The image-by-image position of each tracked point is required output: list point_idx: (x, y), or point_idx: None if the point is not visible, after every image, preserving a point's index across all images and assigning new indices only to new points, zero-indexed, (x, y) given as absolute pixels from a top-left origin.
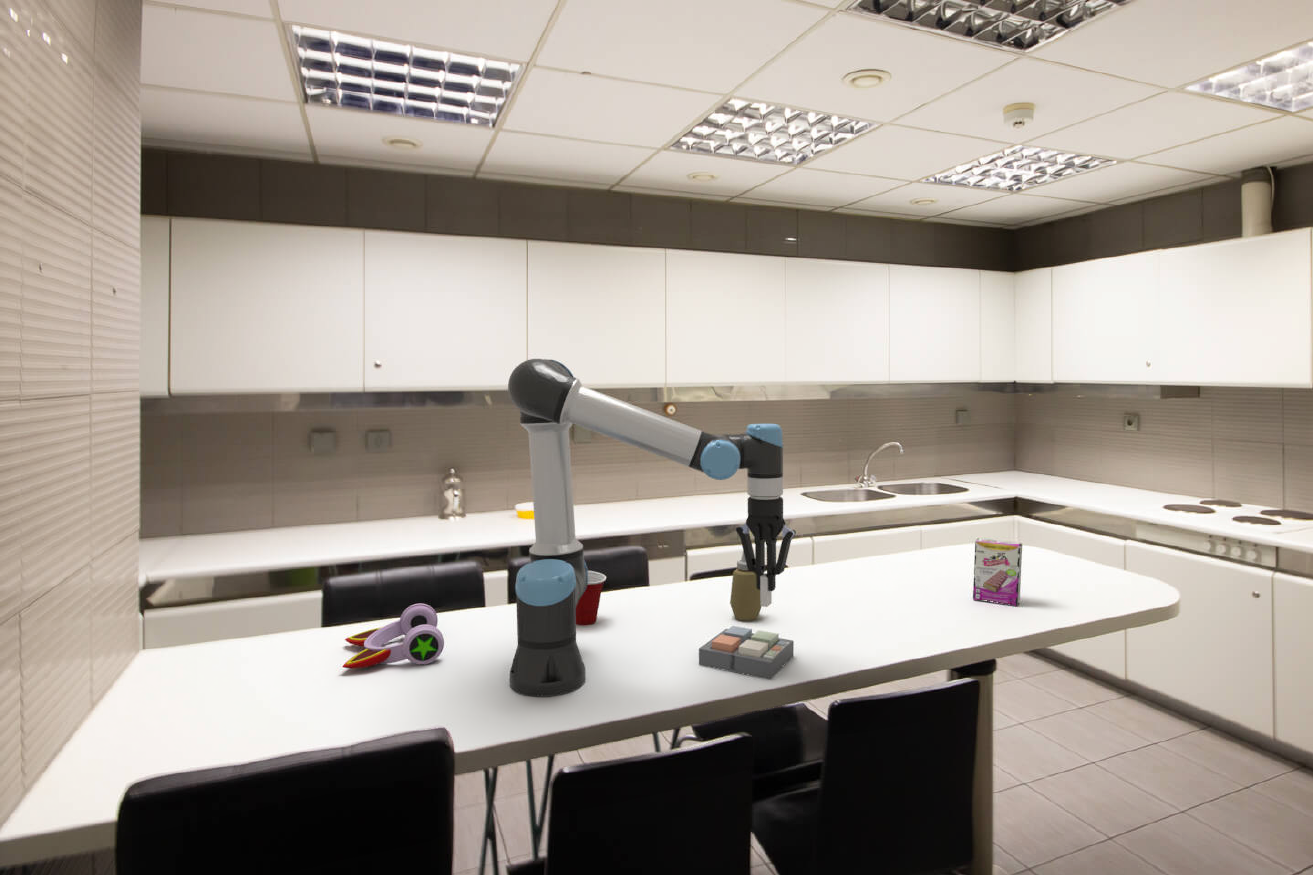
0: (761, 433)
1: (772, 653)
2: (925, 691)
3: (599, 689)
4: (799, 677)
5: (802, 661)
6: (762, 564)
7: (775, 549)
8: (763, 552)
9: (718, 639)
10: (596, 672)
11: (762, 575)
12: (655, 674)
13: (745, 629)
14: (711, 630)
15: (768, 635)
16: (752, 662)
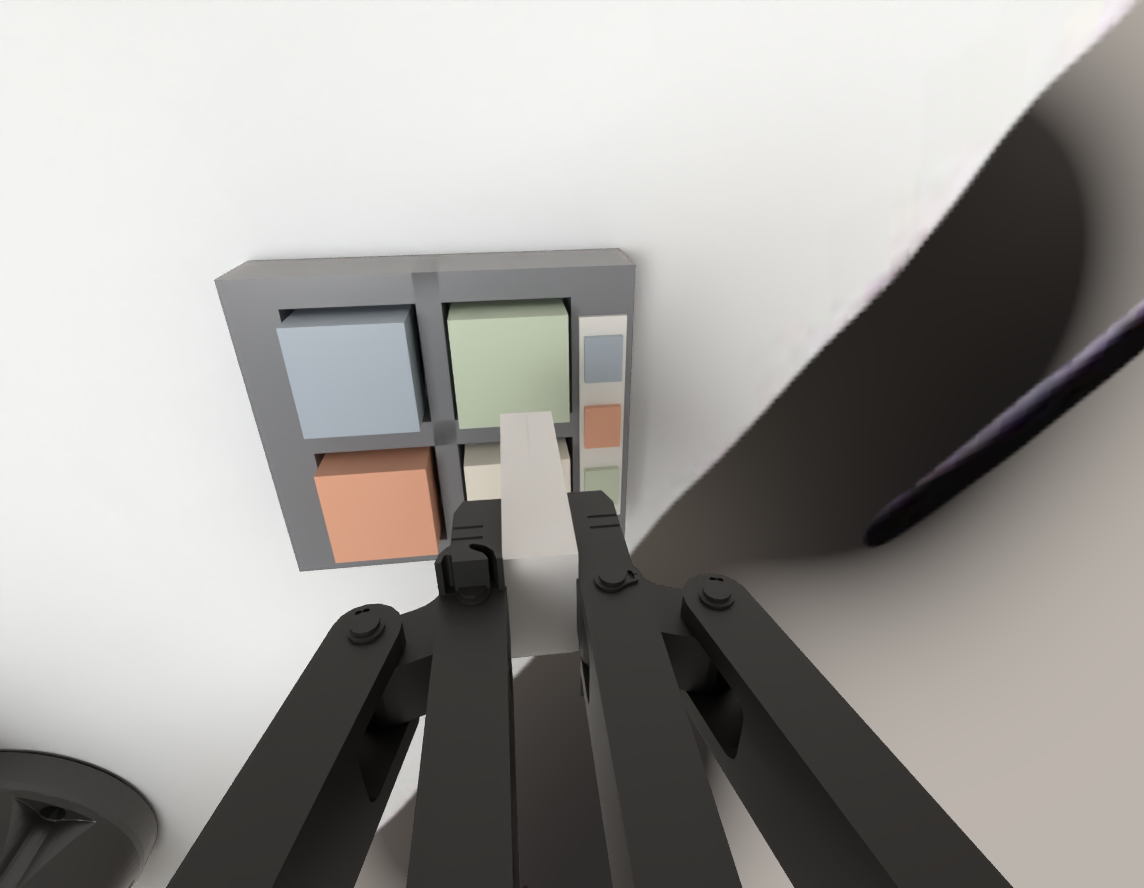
0: None
1: (609, 492)
2: (1128, 326)
3: (205, 784)
4: (700, 439)
5: (672, 286)
6: (512, 714)
7: (730, 874)
8: (513, 845)
9: (346, 531)
10: (83, 730)
11: (517, 629)
12: (252, 655)
13: (376, 346)
14: (6, 86)
15: (530, 365)
16: None
